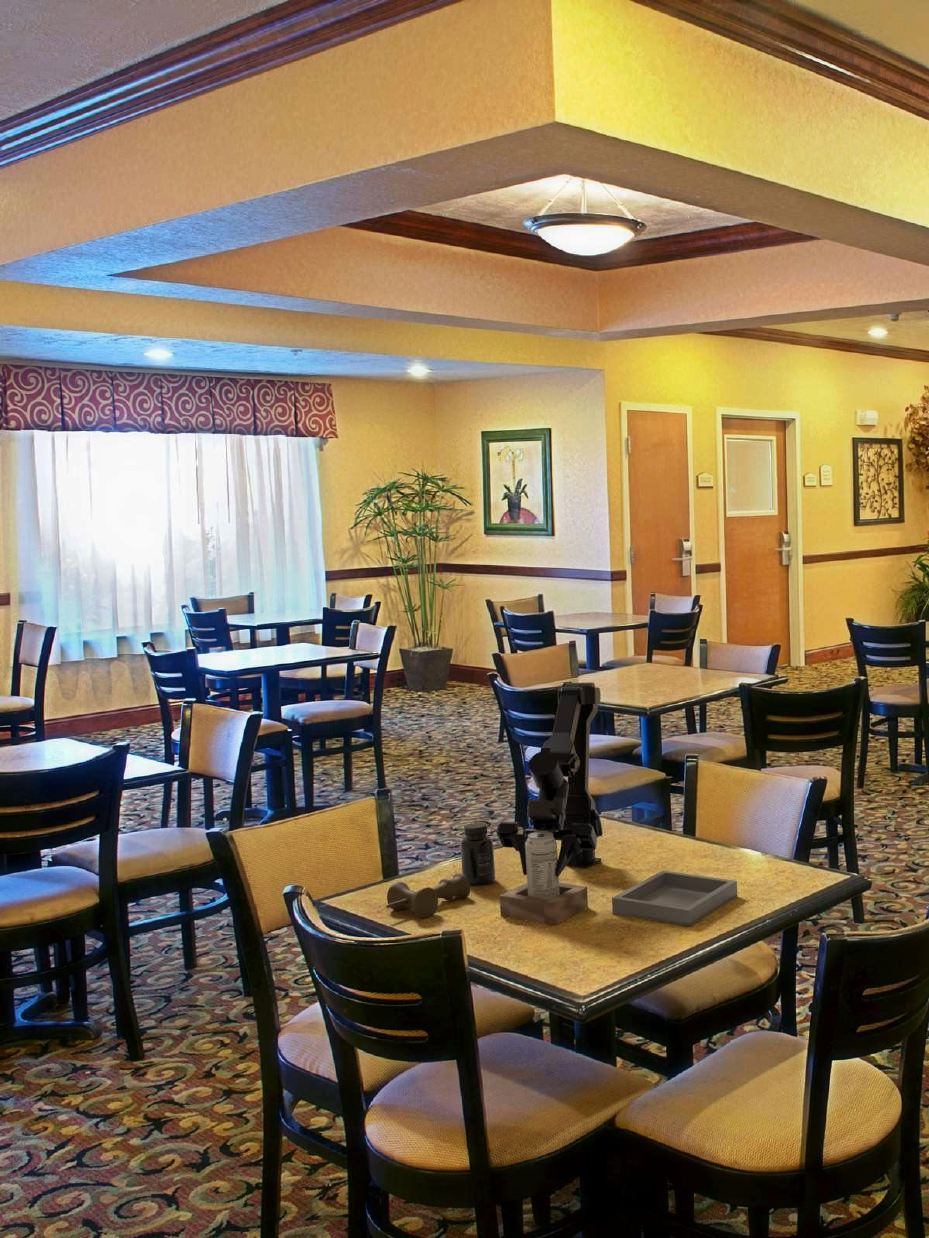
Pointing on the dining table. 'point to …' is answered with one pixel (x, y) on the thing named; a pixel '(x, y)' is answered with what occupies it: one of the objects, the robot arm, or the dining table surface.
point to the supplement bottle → (477, 855)
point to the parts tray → (675, 898)
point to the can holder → (544, 904)
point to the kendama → (427, 895)
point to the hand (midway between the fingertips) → (540, 874)
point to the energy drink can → (542, 865)
